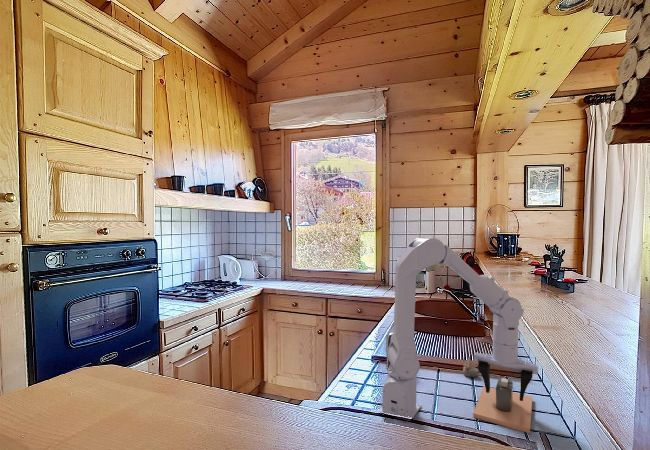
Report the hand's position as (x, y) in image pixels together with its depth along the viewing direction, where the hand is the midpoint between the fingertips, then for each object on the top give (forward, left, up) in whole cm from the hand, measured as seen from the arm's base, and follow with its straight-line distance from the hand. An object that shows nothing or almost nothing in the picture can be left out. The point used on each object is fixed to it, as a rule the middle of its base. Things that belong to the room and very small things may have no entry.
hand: (504, 395), depth 90 cm
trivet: (0, 0, -3) cm, 3 cm away
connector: (0, 0, -2) cm, 2 cm away
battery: (+9, +32, -4) cm, 33 cm away
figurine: (+17, +11, -4) cm, 21 cm away
